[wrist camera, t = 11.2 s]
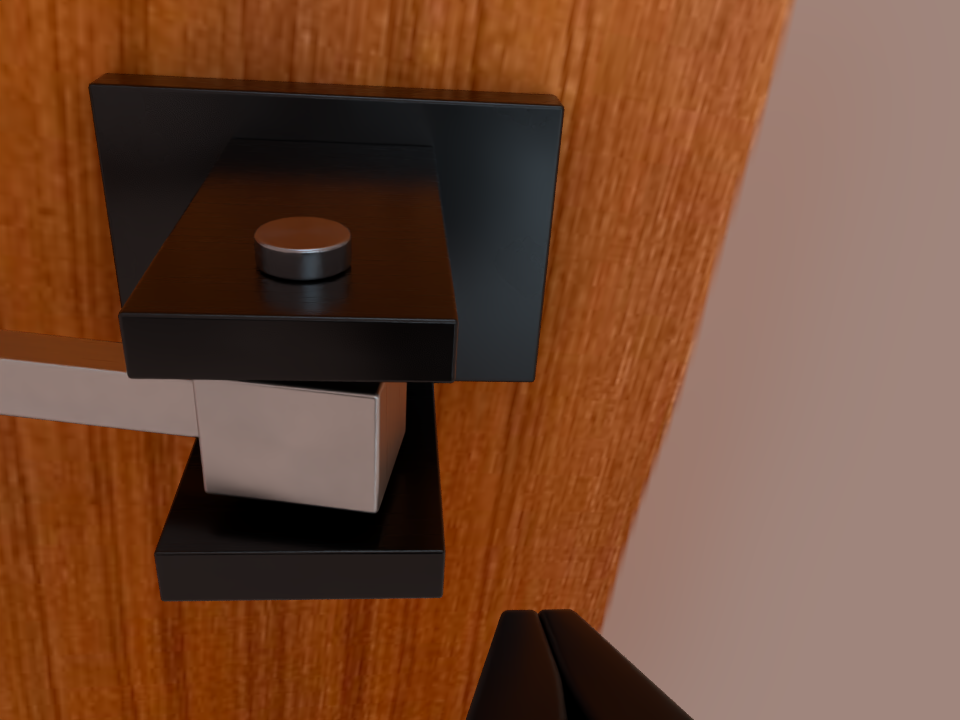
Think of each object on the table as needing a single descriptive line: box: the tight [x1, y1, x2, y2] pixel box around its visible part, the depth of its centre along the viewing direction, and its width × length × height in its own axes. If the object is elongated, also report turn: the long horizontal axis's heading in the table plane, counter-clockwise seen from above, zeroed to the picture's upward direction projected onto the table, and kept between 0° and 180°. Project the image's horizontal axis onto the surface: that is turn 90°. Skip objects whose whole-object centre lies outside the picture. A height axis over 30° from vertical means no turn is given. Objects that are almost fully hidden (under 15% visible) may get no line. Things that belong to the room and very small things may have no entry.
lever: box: [0, 330, 407, 514], centre depth 14 cm, size 11×6×2 cm, turn 86°
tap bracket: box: [88, 73, 564, 601], centre depth 17 cm, size 10×7×10 cm
